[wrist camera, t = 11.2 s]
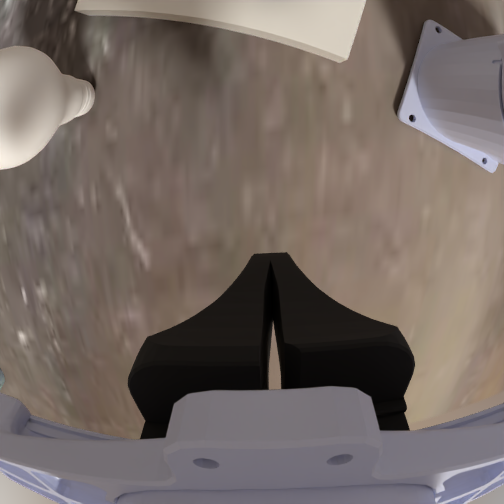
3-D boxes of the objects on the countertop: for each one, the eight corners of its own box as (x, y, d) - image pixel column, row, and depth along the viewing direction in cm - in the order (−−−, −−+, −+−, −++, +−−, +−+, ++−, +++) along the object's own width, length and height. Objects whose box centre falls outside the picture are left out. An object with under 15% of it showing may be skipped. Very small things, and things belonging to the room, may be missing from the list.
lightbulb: (53, 62, 16) (-65, 66, 6) (127, 49, 16) (13, 25, 6) (52, 142, 19) (-61, 188, 9) (123, 138, 19) (12, 184, 9)
